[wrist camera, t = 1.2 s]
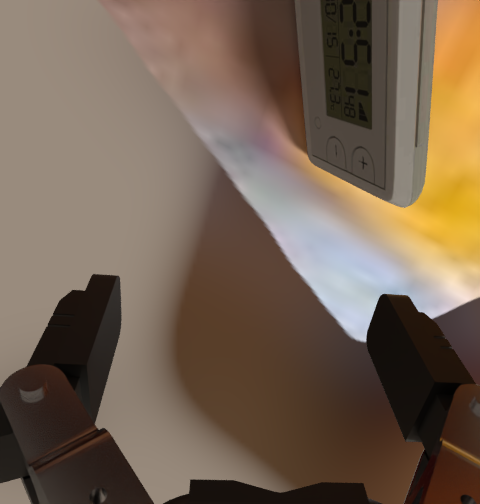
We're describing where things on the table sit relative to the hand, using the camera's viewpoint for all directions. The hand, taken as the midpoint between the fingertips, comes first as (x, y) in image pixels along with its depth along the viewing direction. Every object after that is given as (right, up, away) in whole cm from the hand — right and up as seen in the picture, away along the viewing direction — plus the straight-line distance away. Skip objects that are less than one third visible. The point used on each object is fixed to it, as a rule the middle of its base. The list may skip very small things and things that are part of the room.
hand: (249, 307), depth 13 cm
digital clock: (+7, +16, +18) cm, 25 cm away
